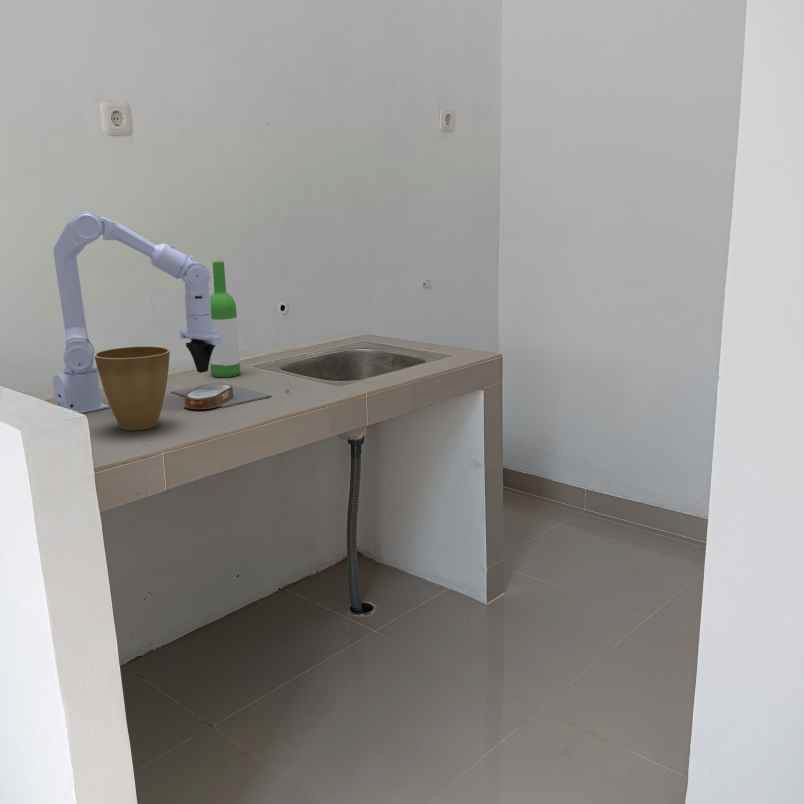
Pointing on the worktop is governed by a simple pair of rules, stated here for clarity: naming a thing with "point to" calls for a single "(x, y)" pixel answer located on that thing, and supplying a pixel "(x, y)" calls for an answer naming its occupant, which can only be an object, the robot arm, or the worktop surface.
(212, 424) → the worktop surface
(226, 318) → the wine bottle
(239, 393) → the mat
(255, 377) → the worktop surface
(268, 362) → the worktop surface
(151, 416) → the plant pot
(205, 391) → the tin
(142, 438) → the worktop surface
